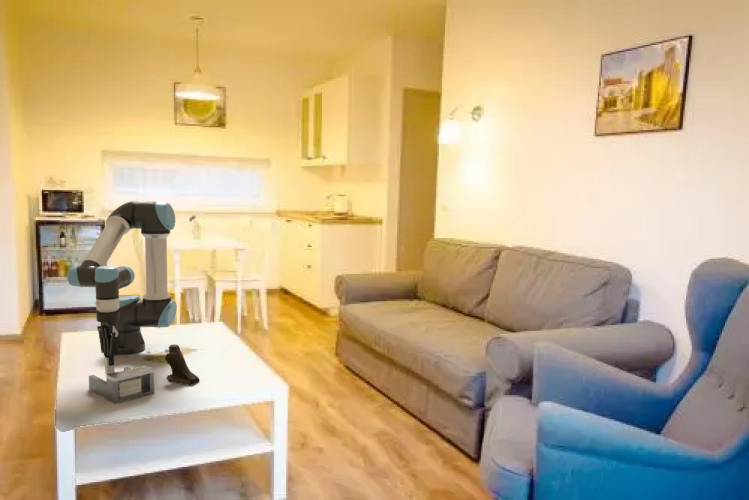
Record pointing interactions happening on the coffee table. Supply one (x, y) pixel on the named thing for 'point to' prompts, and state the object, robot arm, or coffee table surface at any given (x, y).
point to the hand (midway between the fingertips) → (110, 373)
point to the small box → (129, 386)
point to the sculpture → (179, 367)
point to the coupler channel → (111, 385)
